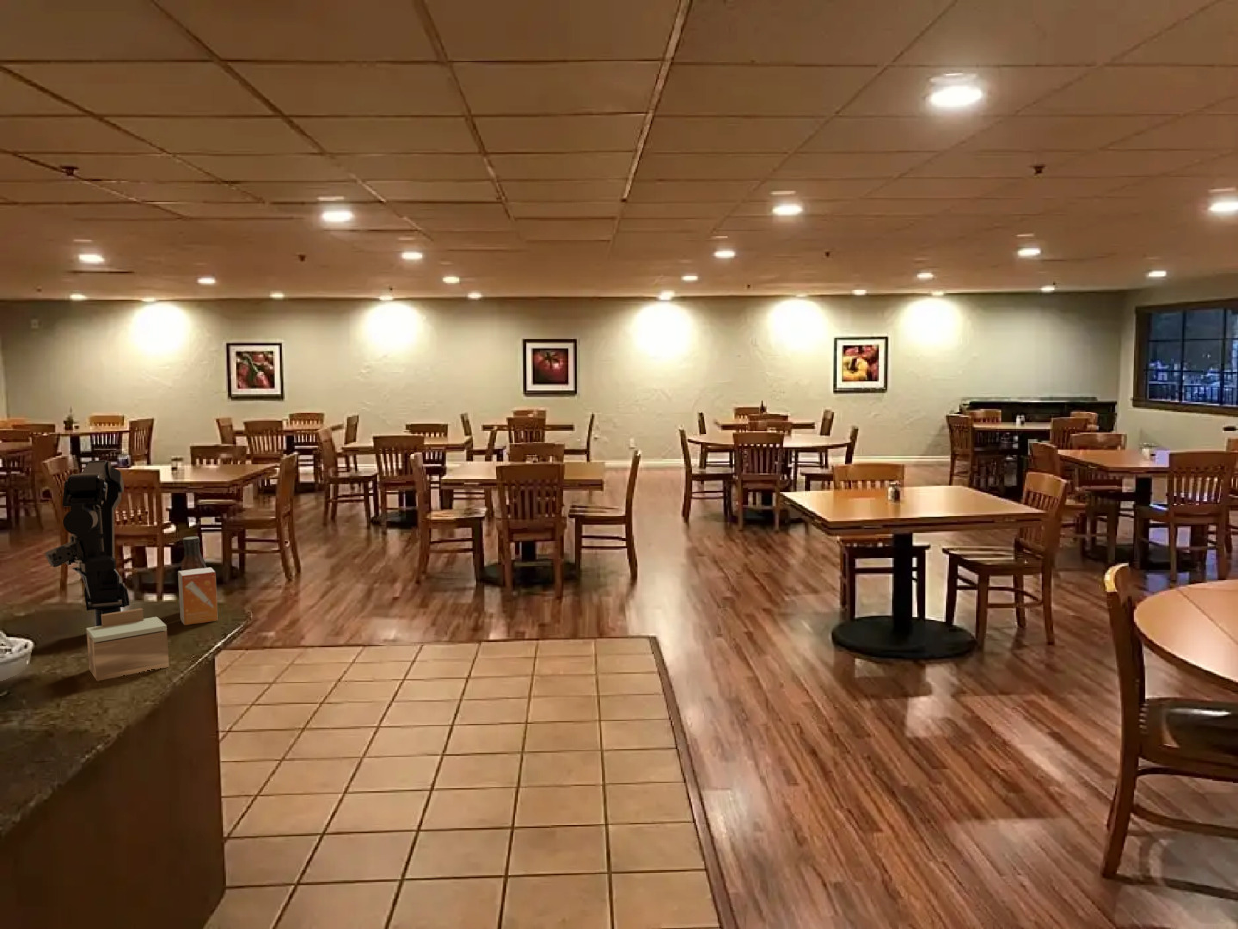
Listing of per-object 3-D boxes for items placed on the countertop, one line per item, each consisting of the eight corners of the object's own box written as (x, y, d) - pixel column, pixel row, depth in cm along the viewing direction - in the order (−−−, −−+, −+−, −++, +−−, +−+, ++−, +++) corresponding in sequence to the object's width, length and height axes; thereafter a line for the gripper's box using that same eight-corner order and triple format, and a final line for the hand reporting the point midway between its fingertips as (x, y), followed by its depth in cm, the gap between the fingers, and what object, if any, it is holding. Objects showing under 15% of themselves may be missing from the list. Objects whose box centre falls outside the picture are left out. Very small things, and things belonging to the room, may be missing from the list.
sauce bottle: (215, 608, 252) (211, 536, 250) (198, 615, 246) (193, 540, 244) (196, 606, 254) (191, 534, 252) (178, 612, 248) (173, 539, 246)
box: (89, 669, 204) (86, 634, 203) (159, 656, 212) (157, 622, 211) (97, 680, 197) (94, 643, 196) (169, 666, 205) (166, 631, 204)
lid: (86, 632, 203) (85, 616, 202) (157, 621, 211) (156, 605, 211) (94, 642, 196) (93, 626, 195) (166, 630, 204) (165, 614, 204)
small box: (184, 626, 236) (181, 575, 235) (180, 620, 241) (177, 570, 240) (218, 621, 241) (215, 571, 239) (213, 615, 246) (211, 566, 244)
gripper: (37, 530, 213) (42, 598, 214) (56, 537, 199) (62, 610, 200) (92, 525, 220) (96, 590, 221) (114, 531, 207) (119, 601, 208)
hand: (92, 598), depth 213 cm, fingers closed
